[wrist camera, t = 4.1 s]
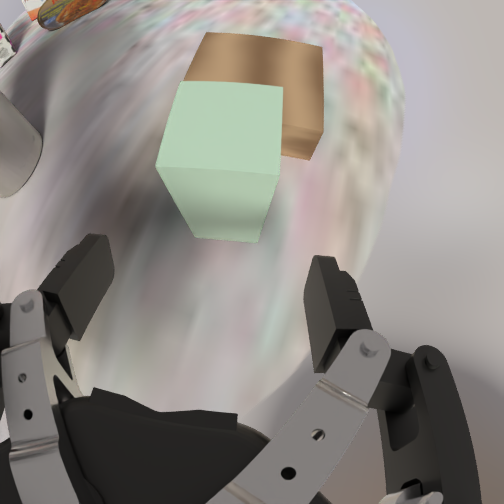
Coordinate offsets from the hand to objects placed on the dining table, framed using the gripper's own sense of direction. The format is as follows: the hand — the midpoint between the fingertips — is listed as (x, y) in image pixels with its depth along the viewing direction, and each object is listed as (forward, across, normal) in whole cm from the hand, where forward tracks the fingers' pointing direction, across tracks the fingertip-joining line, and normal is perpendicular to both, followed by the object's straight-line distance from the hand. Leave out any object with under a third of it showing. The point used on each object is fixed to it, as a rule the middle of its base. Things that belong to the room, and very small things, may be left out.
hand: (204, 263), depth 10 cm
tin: (+41, +35, -24) cm, 59 cm away
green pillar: (+12, 0, +4) cm, 13 cm away
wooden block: (+21, -1, -4) cm, 22 cm away
